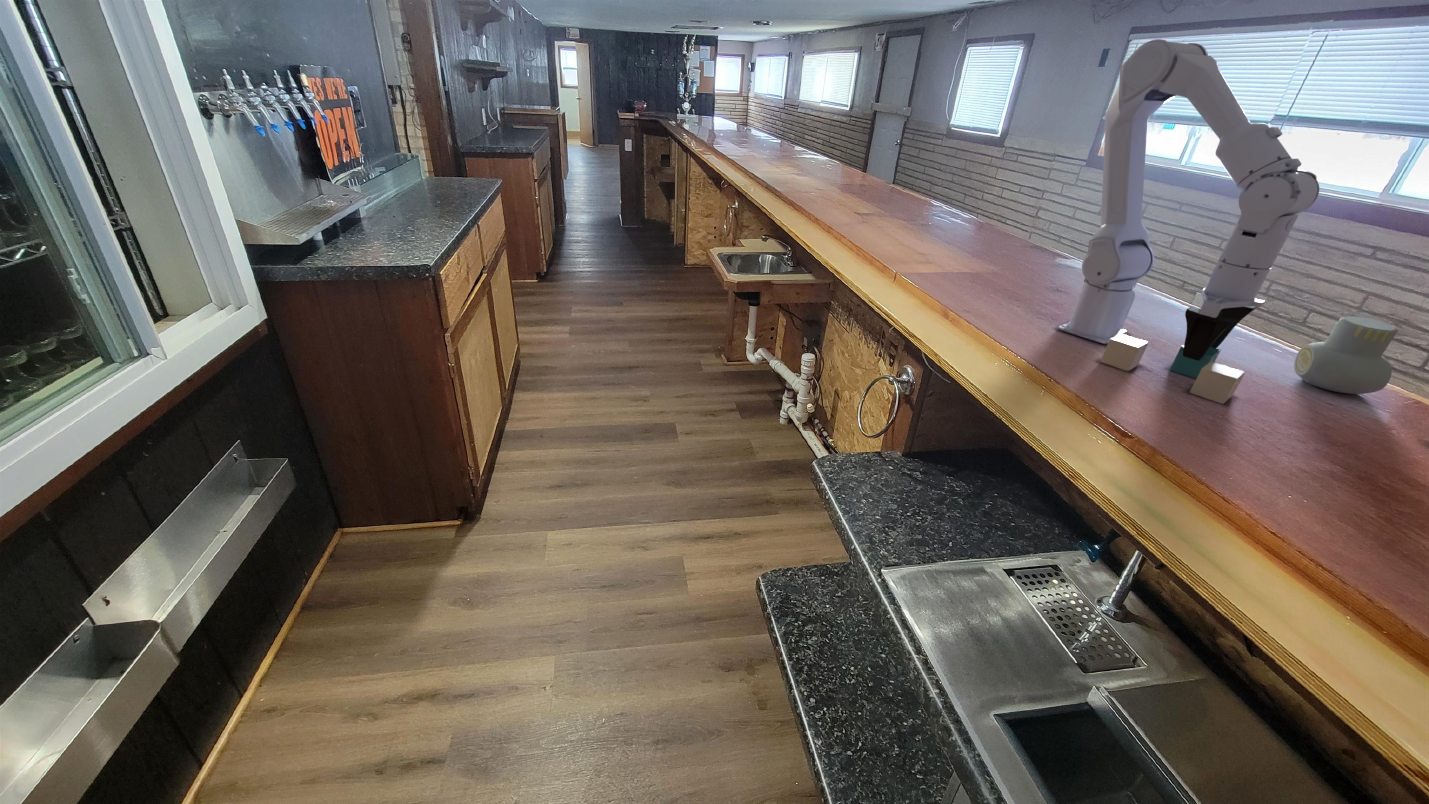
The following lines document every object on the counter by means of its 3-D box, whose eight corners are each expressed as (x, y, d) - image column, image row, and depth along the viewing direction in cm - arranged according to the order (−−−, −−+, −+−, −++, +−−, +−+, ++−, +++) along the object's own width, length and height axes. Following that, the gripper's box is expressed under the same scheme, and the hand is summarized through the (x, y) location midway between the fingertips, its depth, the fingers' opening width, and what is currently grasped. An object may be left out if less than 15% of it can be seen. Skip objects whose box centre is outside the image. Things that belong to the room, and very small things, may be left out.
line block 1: (1110, 356, 91) (1120, 333, 89) (1138, 365, 89) (1148, 342, 87) (1100, 361, 89) (1109, 338, 87) (1127, 371, 86) (1138, 347, 84)
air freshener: (1378, 408, 79) (1425, 342, 74) (1300, 391, 83) (1341, 327, 78) (1354, 379, 87) (1396, 318, 82) (1285, 365, 91) (1321, 306, 86)
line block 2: (1198, 385, 83) (1211, 361, 81) (1231, 396, 80) (1245, 371, 78) (1189, 392, 81) (1202, 367, 79) (1222, 404, 78) (1237, 378, 76)
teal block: (1178, 363, 90) (1190, 340, 88) (1208, 373, 87) (1221, 349, 85) (1169, 369, 87) (1181, 346, 86) (1200, 380, 85) (1212, 355, 83)
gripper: (1267, 279, 72) (1216, 373, 79) (1294, 263, 80) (1246, 350, 87) (1201, 265, 77) (1158, 355, 84) (1233, 252, 85) (1192, 335, 91)
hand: (1199, 352), depth 85 cm, fingers open, 7 cm apart
